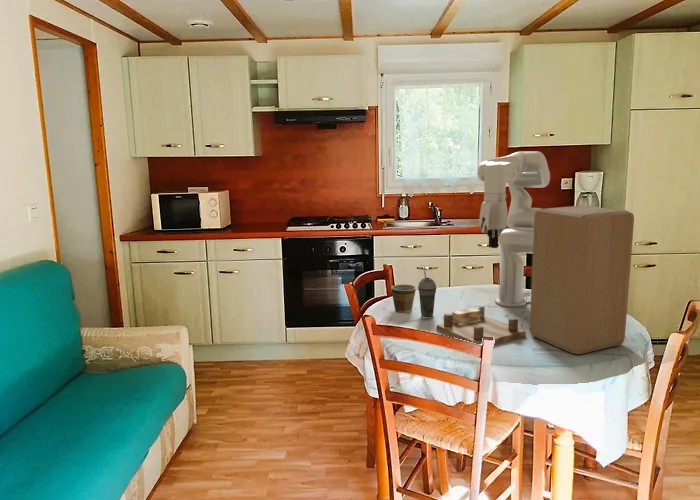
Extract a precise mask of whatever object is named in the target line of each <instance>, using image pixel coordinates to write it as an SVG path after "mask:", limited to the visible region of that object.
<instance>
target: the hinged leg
mask: <svg viewBox="0 0 700 500" xmlns="http://www.w3.org/2000/svg"><path fill="white" fill-rule="evenodd" d="M451 314H452V315H453V321H454V322H456V323H462V322H468V321H473V320H479V319H480V310H479V308H478V309H477V308H469V309H463V310H455V311H452V312H451Z"/></svg>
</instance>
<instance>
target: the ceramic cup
mask: <svg viewBox="0 0 700 500" xmlns="http://www.w3.org/2000/svg"><path fill="white" fill-rule="evenodd" d="M390 289H391V296H392V300H393V304H394V305H393V307H394V311H395V312H396V313H397V314H404V313H406V314H410V313H411V312H412V310H413V307H414V306H413V305H414V300H415V295H416V289H417V287H416V286H415V285H412V284H396V285H392V286H391V288H390Z"/></svg>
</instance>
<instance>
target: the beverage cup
mask: <svg viewBox="0 0 700 500" xmlns="http://www.w3.org/2000/svg"><path fill="white" fill-rule="evenodd" d="M426 273H427V272H426V266H423V274H424V275H423V276H424V278H422V279H420V281H419V283H418V287H417V290H418V294H419V302H420V303H419V304H420V313H421V314H420V315H421V317H422V318H425V319H430V318H433V316H434V312H435V311H434V308H435V300H436V292H437V288H438V287H437V284H436V282H435V281H434V279H433V278H431V277H427V274H426Z"/></svg>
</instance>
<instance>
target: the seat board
mask: <svg viewBox="0 0 700 500" xmlns="http://www.w3.org/2000/svg"><path fill="white" fill-rule="evenodd" d="M478 310H480V319H479V320H473V321H468V322H462V323H456V322H454V321H453V315H452V313H445V314H443V322H442V323H438V324H436V329H435V330H436V331H437V332H440V333H442V334H444V335H446V336H448V337H451V338H453V337H455V338H458V339H462V340H466V341H469V342H473V343H476V344H481V343H482V338H483V336H489V337H494V339H495V344H494V345H498V344H502V343H505V342H509V341H513V340H517V339H521V338H524V337H526V336H527V335H526V333H527V332H526V330H524V329H521V328H519V318H516V317H510V318H508V323H505V322H503V321H500V320H497V319H495V318H493V317H489V316H487V315H485V311H486V310H485V306H484V305H480V306H479V308H478ZM455 338H454V339H455Z"/></svg>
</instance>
